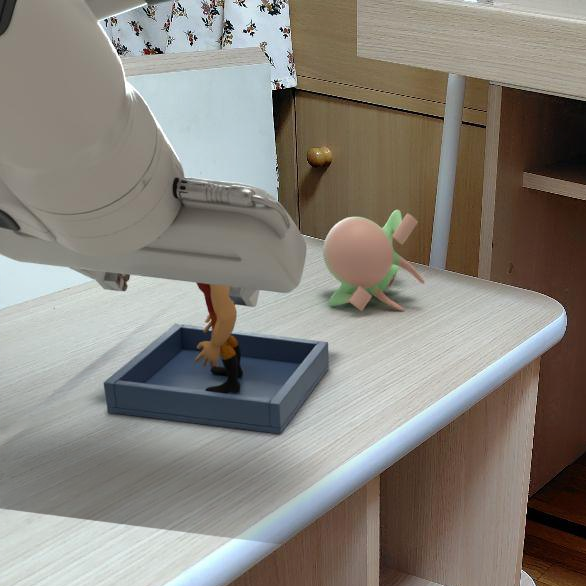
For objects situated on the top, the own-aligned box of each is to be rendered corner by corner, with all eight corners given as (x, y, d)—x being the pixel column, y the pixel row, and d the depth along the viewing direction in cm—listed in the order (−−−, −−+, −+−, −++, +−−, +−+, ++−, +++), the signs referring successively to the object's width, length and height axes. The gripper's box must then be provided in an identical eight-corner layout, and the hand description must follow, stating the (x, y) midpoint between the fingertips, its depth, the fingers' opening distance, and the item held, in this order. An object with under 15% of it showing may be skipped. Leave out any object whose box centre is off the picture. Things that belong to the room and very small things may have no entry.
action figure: (208, 361, 85) (192, 180, 77) (251, 362, 86) (240, 183, 78) (195, 407, 77) (176, 211, 69) (243, 408, 78) (229, 214, 70)
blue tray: (107, 412, 76) (102, 382, 75) (178, 350, 88) (175, 323, 86) (280, 434, 76) (279, 404, 74) (328, 368, 87) (328, 341, 86)
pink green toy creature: (453, 251, 101) (422, 237, 108) (379, 186, 95) (351, 176, 102) (383, 346, 101) (357, 326, 109) (305, 287, 95) (283, 270, 103)
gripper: (286, 147, 58) (334, 266, 71) (-55, 108, 58) (56, 233, 72) (265, 244, 56) (318, 347, 70) (-85, 203, 57) (35, 313, 70)
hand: (183, 289), depth 71 cm, fingers open, 8 cm apart
